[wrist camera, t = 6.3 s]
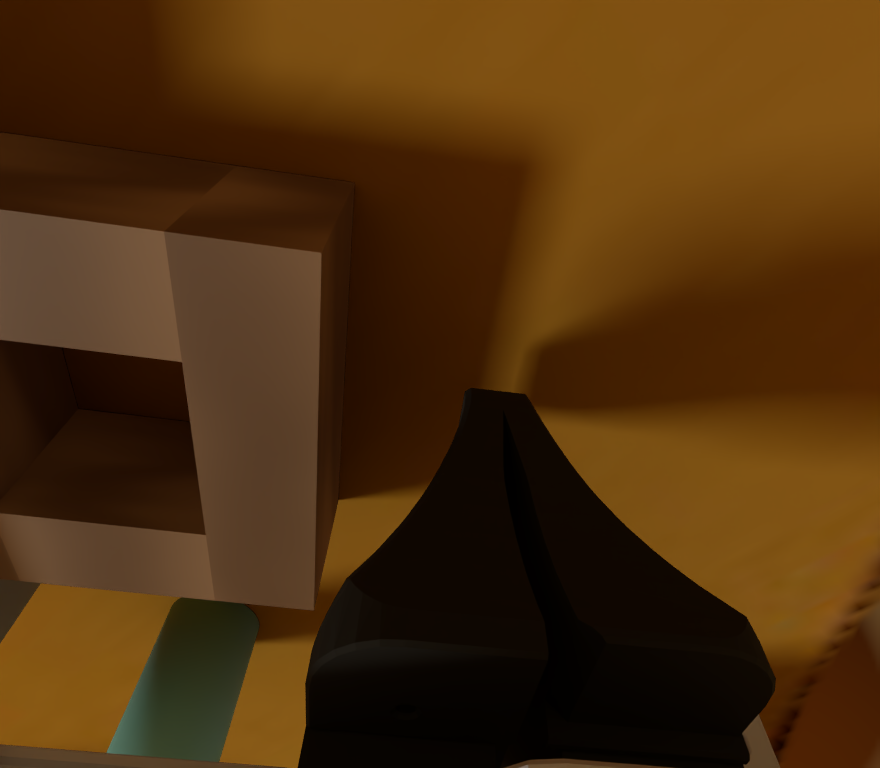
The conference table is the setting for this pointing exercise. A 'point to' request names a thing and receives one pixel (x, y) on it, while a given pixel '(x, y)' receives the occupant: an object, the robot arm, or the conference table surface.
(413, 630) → the robot arm
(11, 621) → the backstop wall
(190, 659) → the dowel
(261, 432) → the hole block
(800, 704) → the conference table surface
